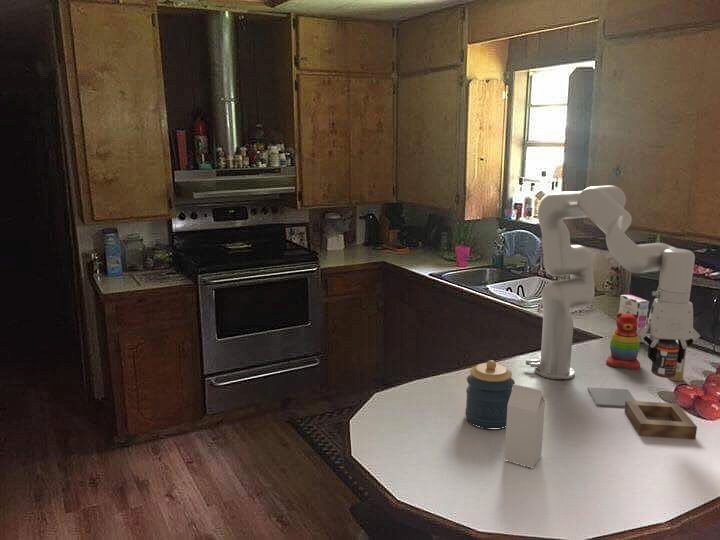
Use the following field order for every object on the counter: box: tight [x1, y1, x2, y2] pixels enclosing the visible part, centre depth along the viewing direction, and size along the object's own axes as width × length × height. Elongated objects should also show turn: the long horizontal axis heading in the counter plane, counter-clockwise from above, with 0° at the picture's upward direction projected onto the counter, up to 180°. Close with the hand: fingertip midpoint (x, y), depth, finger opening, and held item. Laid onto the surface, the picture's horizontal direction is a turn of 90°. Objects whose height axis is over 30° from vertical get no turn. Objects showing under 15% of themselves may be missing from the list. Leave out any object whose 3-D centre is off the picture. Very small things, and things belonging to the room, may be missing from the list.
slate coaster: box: [587, 386, 637, 408], centre depth 184 cm, size 12×12×1 cm
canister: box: [464, 359, 516, 428], centre depth 169 cm, size 13×13×18 cm
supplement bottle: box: [651, 339, 679, 379], centre depth 163 cm, size 6×6×11 cm
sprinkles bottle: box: [668, 340, 687, 382], centre depth 197 cm, size 5×5×14 cm
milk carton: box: [503, 383, 546, 469], centre depth 149 cm, size 7×7×19 cm
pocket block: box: [624, 400, 698, 440], centre depth 167 cm, size 14×14×4 cm
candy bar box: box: [616, 294, 650, 344], centre depth 235 cm, size 11×5×16 cm, turn 14°
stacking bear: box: [605, 312, 641, 371], centre depth 210 cm, size 11×10×18 cm
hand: (665, 360), depth 164 cm, fingers closed on supplement bottle, 6 cm apart
